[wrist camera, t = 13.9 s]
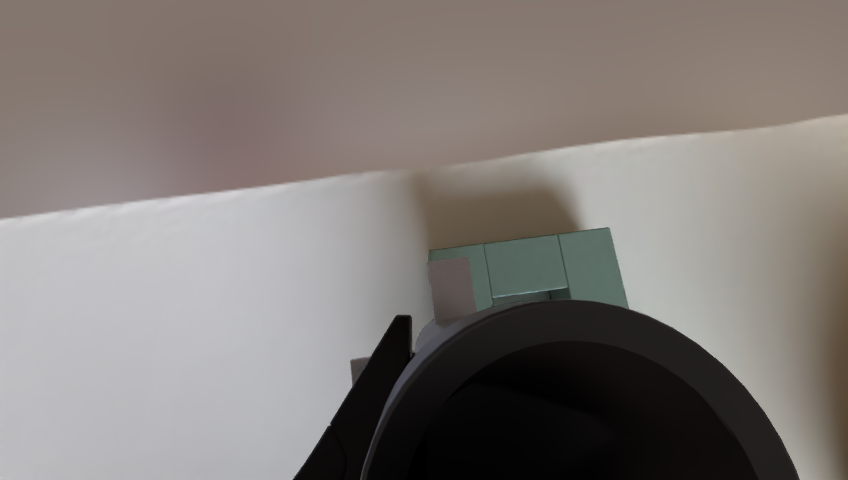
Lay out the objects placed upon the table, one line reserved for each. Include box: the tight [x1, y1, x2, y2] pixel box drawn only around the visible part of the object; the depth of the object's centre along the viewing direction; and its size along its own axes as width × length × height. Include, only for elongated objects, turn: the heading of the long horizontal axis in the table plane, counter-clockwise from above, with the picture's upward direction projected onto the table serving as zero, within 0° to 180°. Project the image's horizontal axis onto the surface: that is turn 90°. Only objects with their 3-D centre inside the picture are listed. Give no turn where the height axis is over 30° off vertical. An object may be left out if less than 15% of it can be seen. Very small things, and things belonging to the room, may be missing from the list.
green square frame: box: [428, 227, 629, 312], centre depth 20 cm, size 10×10×3 cm
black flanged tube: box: [350, 257, 800, 480], centre depth 9 cm, size 7×7×13 cm
